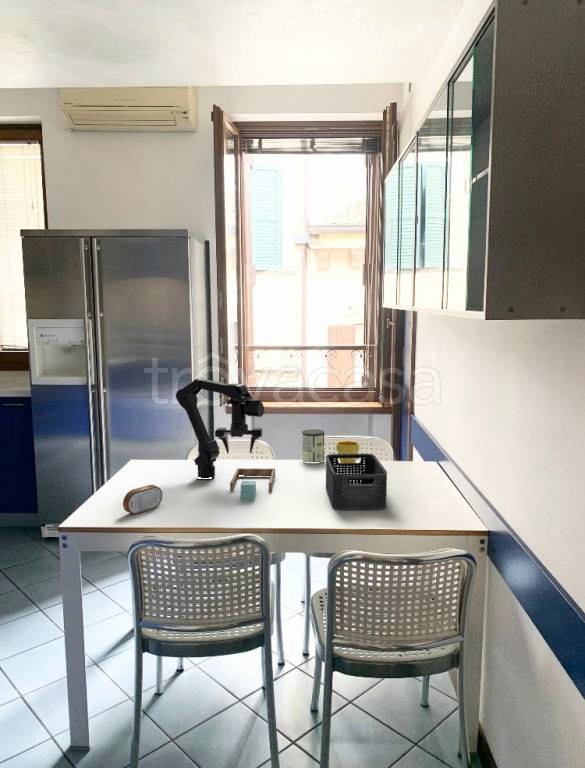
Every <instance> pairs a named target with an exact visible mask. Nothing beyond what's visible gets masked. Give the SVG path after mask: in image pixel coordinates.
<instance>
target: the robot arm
mask: <svg viewBox="0 0 585 768" xmlns="http://www.w3.org/2000/svg"><path fill="white" fill-rule="evenodd" d="M202 390H204V391H209V392H214V393H219V394H222V395H224V396H226V397H227V398H229V399H228V401H226V404H227V405H231V423H230V428H229V429H227V427H217V428H216V429H215V431H214V438H218V439H219V440H221V442H222V443H223V445H224V448H225V451H226V453H227V454H229V453H230V451H229V450H230V447H229V446H230V445H229V437H228V435H230V437H231V438H235V437H238V438H242V437H244V436H245V435H250V436H251V437H250V446H249V454H252V452H253V448H254V444H255V442H256V440H258V439H259V438H262V437H263V435H264V434H263V432H264V431H263V428H262V427H252V429H249V425H248V424H247V417H256V418H262V417H263V416H264V413H265V406H264V403H263V402H262V399H254V398H253V397H252V395H251V393H250V391H248V388H247V386H246V384H244V383H224V382H219V381H214V380H209V379H205V378H201V377H200V378H195V379H194V380H193V381H191V382H190V383H189V384H186V386H184V387H183V388H180V389H178V390H177V391H176V394H175V398H176V400H177V402H178V404H179V406H181V408H182V409H183V410H185V412H186V414H187V417H188V420H189V422H190V424H191V427H192V429H193V432H194V434H195V437H196V439H197V441H198V446H197V451H198V455H197V456H196V458H194V461H193V462H194V465H195V466H197V477H201V478H209V477H214V478H215V477H216V466H215V465H214V464H215V463H214V462H216V461H217V458H218V457H219V455H220V449H221V448H220V446H219V445H218V441H217V439H214V440H213V439H211V437H210V435H209V433H208V431H207V428H206V425H205V423H204V420H203V418H202V415H201V413H200V411H199V408H198V396H197V395H198V394H199V393H200V392H201V391H202Z"/></svg>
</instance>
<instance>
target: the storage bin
mask: <svg viewBox="0 0 585 768" xmlns="http://www.w3.org/2000/svg"><path fill="white" fill-rule="evenodd" d="M340 458H356V459H360V460H359V462H356V463H340V460H339V459H340ZM387 480H388V472H387V470H386V468H385V467H384V465H382V463H381V462H380V460H379V459H378V458H377V456H376V455H374V454H372V453H357V454H338V453H331V454H327V455H326V456H325V490H326V493H327V496H328V499H329V503H330V505H331V508H332V509H334V510H336V511H379V510H380V511H381V510H385V509H387V495H388V494H387V493H388V492H387V490H388V489H387V486H388V481H387Z"/></svg>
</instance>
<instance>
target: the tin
mask: <svg viewBox="0 0 585 768" xmlns="http://www.w3.org/2000/svg"><path fill="white" fill-rule="evenodd" d="M162 500H163V490H162V488H160V487H159V486H157V485H155V484H148V485H145V486H144V485H143V486H140V487H137V488H134V489H131V490H128V492H127V493H126V494H125V496H124V497H123V500H122V501H123V502H122V506H123V510H124V511H125V512H127V513H129V514H132V515H137V514H141V513H144V512H149V511H151V510H154V509H156V508H157V507H158V506H160V505H161V503H162Z"/></svg>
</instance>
